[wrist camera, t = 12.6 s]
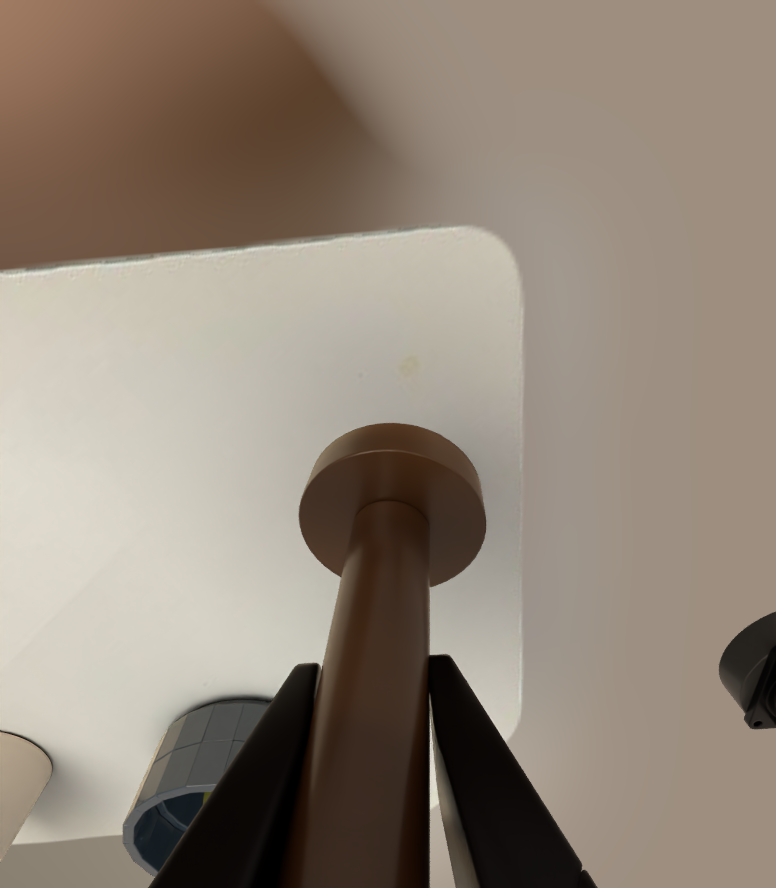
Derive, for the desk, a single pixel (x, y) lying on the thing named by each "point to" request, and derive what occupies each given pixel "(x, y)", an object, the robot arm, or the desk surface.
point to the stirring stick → (377, 652)
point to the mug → (19, 784)
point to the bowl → (185, 777)
